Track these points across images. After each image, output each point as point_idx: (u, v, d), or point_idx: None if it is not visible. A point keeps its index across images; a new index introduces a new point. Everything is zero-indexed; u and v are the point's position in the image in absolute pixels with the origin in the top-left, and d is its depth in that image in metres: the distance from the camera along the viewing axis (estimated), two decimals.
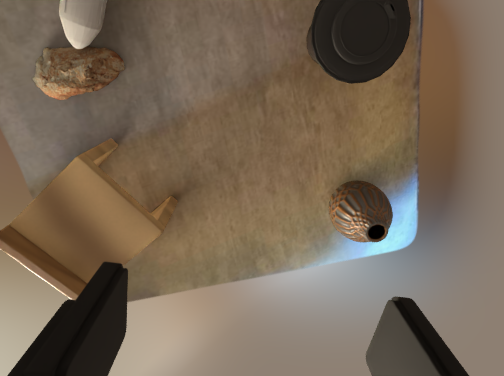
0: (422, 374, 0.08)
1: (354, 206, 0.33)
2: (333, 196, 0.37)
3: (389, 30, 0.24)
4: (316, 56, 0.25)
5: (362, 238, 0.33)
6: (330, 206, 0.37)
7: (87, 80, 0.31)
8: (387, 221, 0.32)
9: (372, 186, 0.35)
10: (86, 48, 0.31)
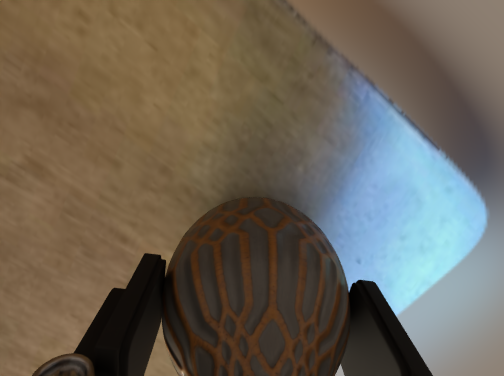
0: (376, 349, 0.09)
1: (171, 347, 0.09)
2: None
3: None
4: None
5: None
6: None
7: None
8: (286, 357, 0.07)
9: (215, 224, 0.10)
10: None
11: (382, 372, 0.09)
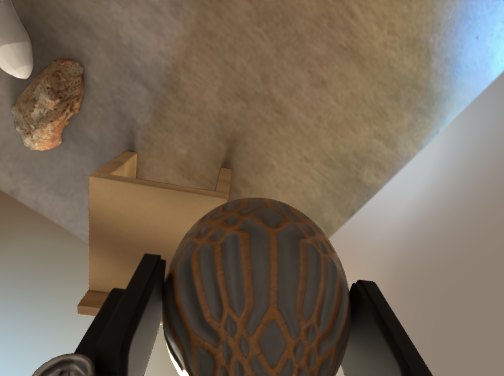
0: (376, 349, 0.09)
1: (172, 347, 0.09)
2: None
3: None
4: None
5: None
6: None
7: (58, 103, 0.27)
8: (287, 357, 0.07)
9: (216, 225, 0.10)
10: (38, 75, 0.27)
11: (382, 372, 0.09)
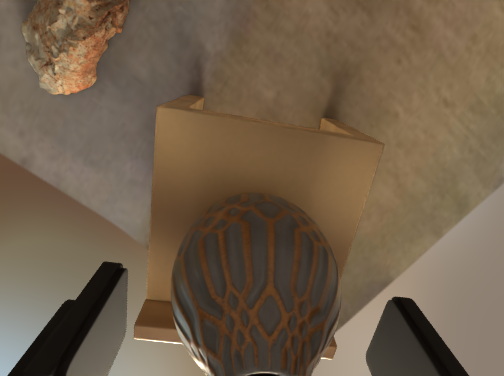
0: (422, 374, 0.08)
1: (180, 323, 0.10)
2: None
3: None
4: None
5: None
6: None
7: (94, 9, 0.17)
8: (282, 327, 0.09)
9: (219, 216, 0.11)
10: None
11: None
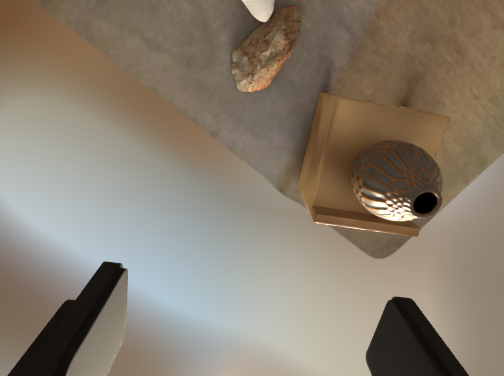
0: (422, 374, 0.08)
1: (378, 188, 0.24)
2: (352, 184, 0.28)
3: None
4: None
5: (415, 217, 0.24)
6: (357, 197, 0.28)
7: (286, 44, 0.31)
8: (430, 180, 0.23)
9: (385, 146, 0.26)
10: None
11: None
